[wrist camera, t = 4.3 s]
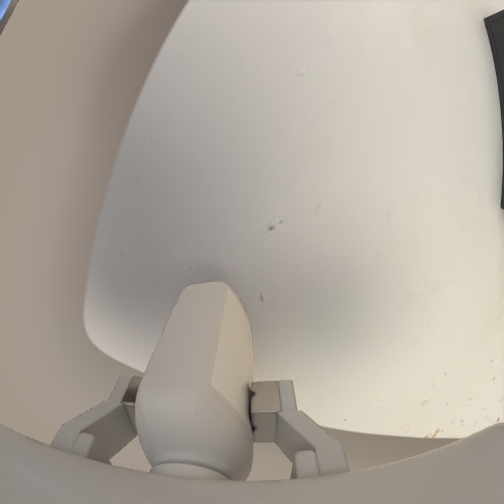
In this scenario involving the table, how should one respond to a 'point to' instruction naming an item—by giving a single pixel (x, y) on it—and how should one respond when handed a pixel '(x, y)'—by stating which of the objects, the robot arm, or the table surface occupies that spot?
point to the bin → (498, 62)
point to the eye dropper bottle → (200, 389)
